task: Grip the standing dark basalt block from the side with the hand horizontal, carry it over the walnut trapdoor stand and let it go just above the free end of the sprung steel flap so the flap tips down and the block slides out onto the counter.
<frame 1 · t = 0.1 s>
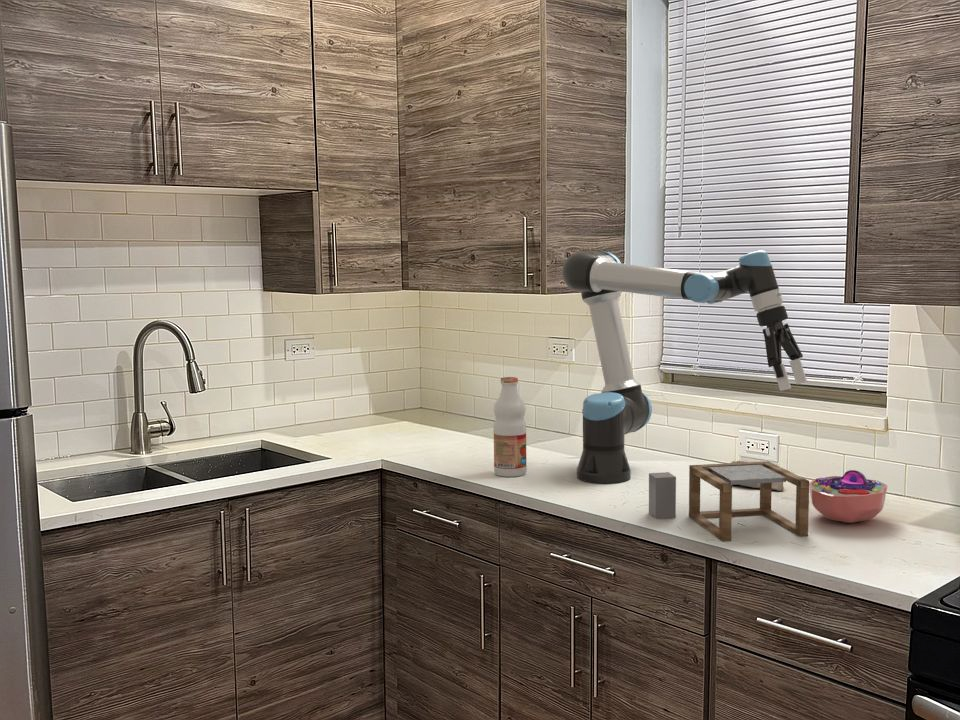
hand: (794, 386, 243), 28 cm above the worktop, tool tilted 20°, fingers open, 13 cm apart
trapdoor stand: (746, 525, 215), on the worktop
concrete fragment: (755, 487, 251), on the worktop
basalt block: (662, 515, 225), on the worktop
fruit juice: (510, 474, 270), on the worktop
trapdoor flap: (745, 474, 215), point 12 cm above the worktop, hinge at 0.0°
cell model: (846, 520, 219), on the worktop
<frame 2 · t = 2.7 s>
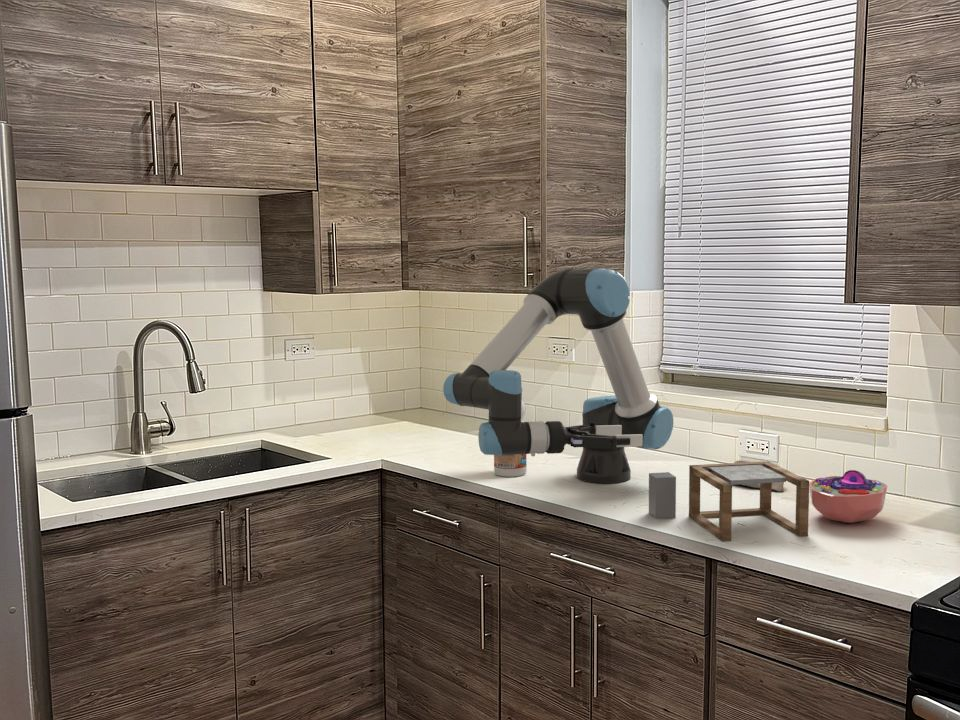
hand: (631, 435, 221), 20 cm above the worktop, tool horizontal, fingers open, 13 cm apart
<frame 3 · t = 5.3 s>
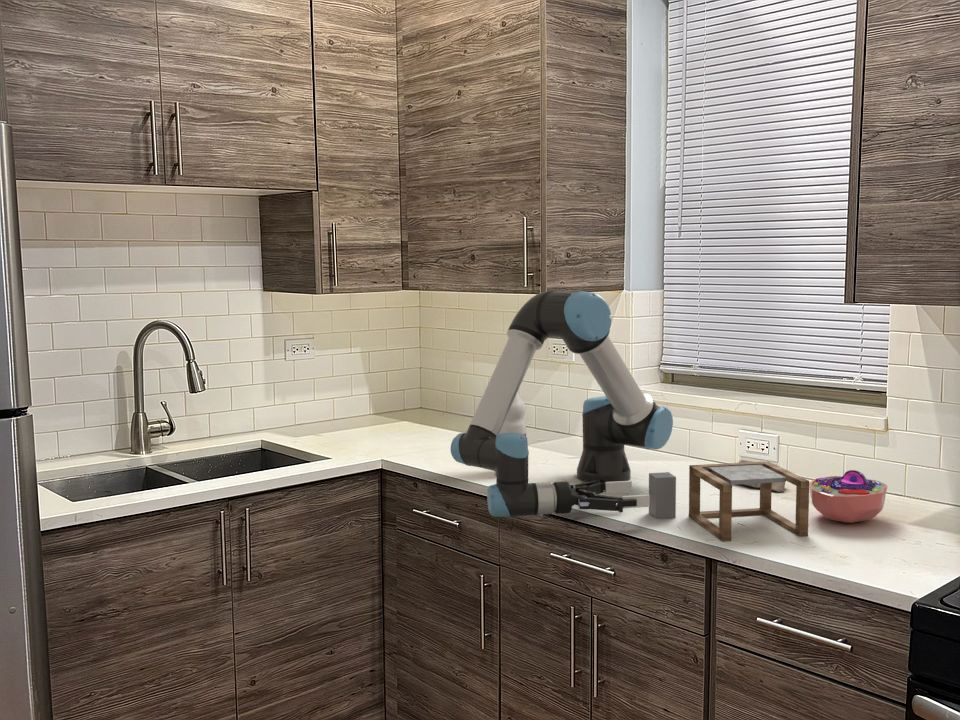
hand: (640, 493, 223), 6 cm above the worktop, tool horizontal, fingers open, 13 cm apart
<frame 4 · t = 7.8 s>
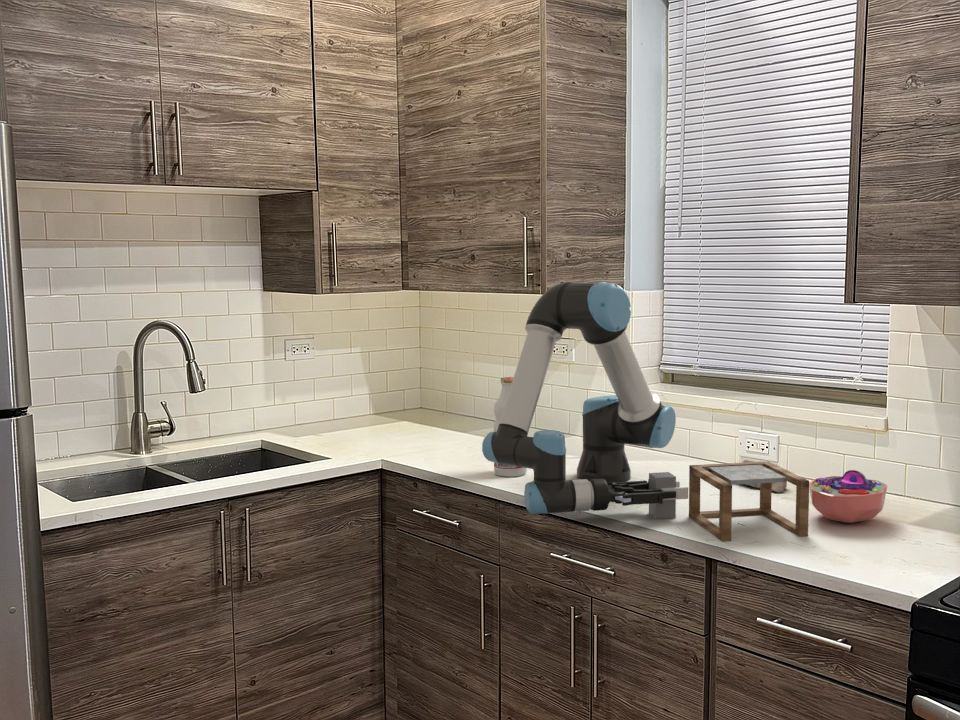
hand: (683, 489, 225), 6 cm above the worktop, tool horizontal, fingers closed on basalt block, 5 cm apart
basalt block: (662, 515, 225), on the worktop, touching gripper
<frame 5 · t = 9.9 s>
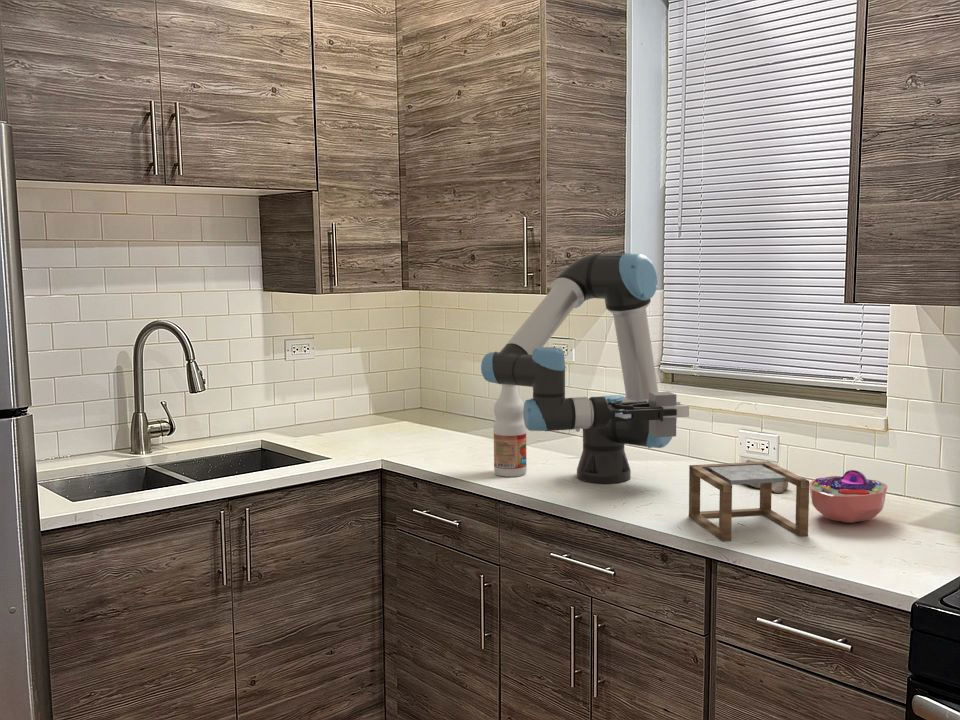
hand: (683, 409, 223), 26 cm above the worktop, tool horizontal, fingers closed on basalt block, 5 cm apart
basalt block: (662, 434, 223), point 20 cm above the worktop, touching gripper
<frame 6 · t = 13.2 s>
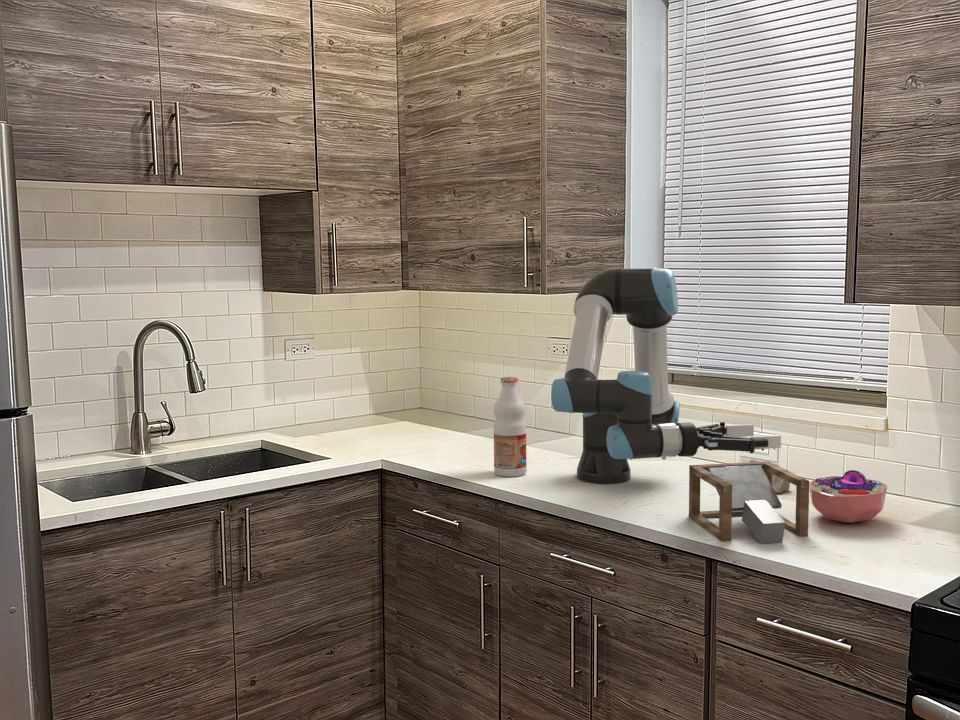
hand: (766, 435, 211), 21 cm above the worktop, tool horizontal, fingers open, 13 cm apart
basalt block: (753, 510, 211), point 5 cm above the worktop, tilted 104°, touching trapdoor flap
trapdoor flap: (743, 486, 216), point 9 cm above the worktop, hinge at -31.4°, touching basalt block
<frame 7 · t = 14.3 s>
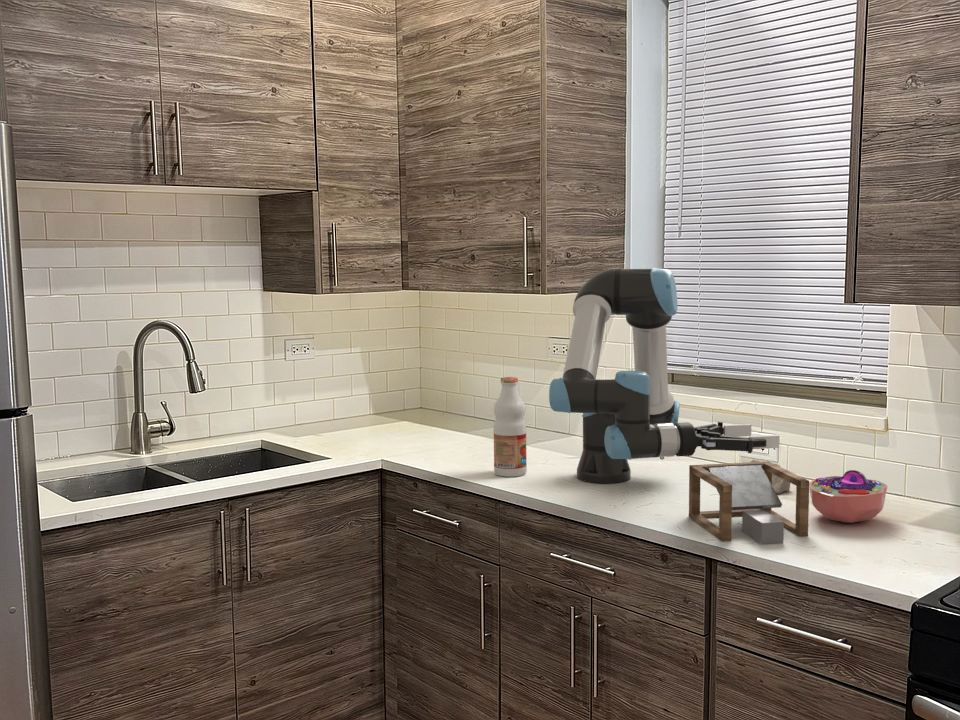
hand: (764, 435, 211), 22 cm above the worktop, tool horizontal, fingers open, 13 cm apart
basalt block: (752, 520, 211), point 2 cm above the worktop, tilted 90°
trapdoor flap: (743, 486, 216), point 9 cm above the worktop, hinge at -29.9°
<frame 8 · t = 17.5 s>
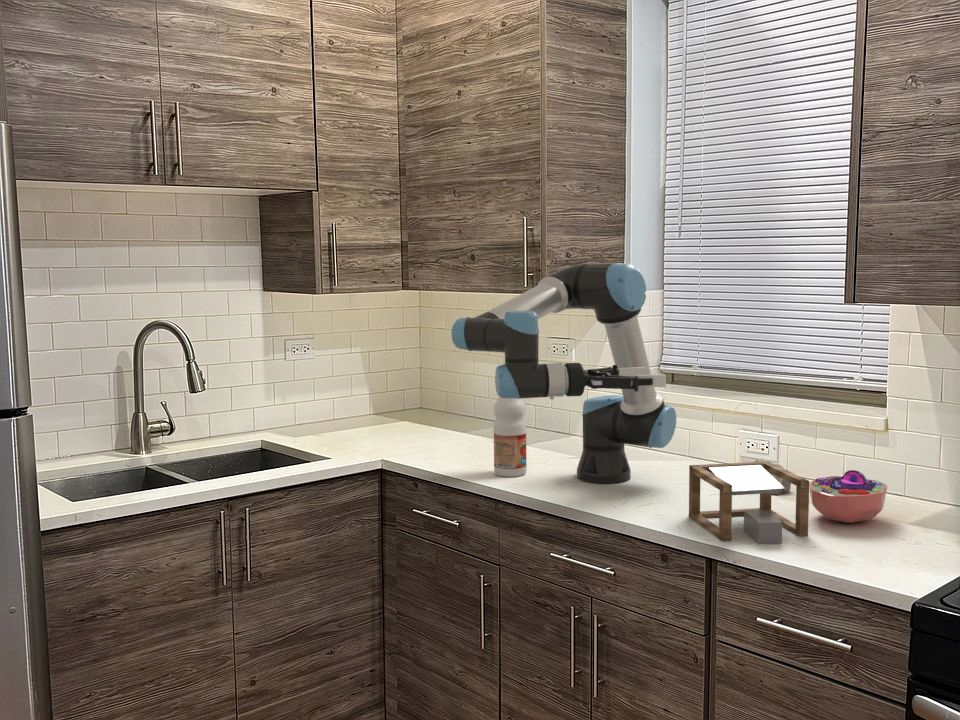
hand: (655, 376, 212), 35 cm above the worktop, tool horizontal, fingers open, 13 cm apart
trapdoor flap: (745, 479, 215), point 11 cm above the worktop, hinge at -11.2°
at the end: basalt block point 2.3 cm above the worktop; basalt block inside the target area (8.1 cm from its centre), point 2.3 cm above the worktop; the gripper is holding nothing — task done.
